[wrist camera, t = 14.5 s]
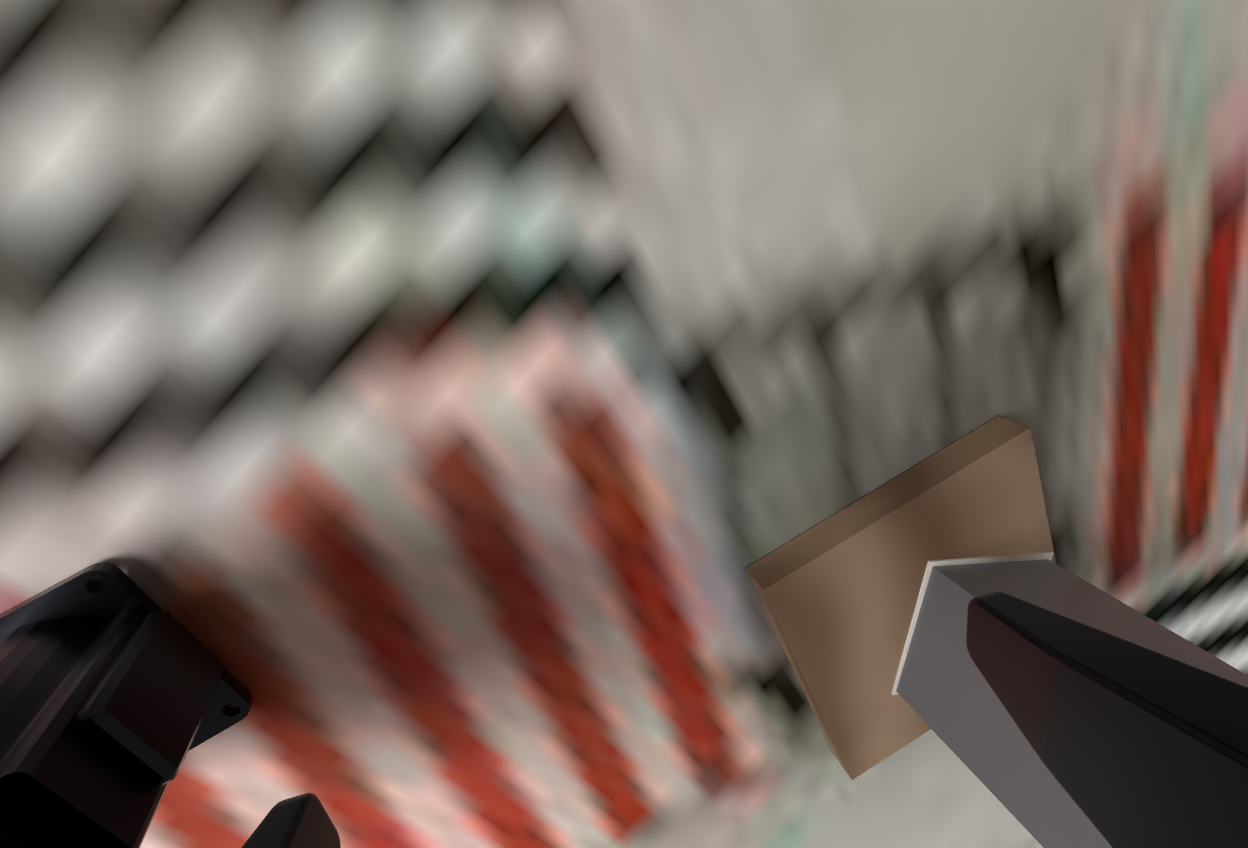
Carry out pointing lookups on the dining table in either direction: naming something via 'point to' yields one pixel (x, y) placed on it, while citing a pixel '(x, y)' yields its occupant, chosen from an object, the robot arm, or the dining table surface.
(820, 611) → the board
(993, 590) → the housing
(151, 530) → the dining table surface
